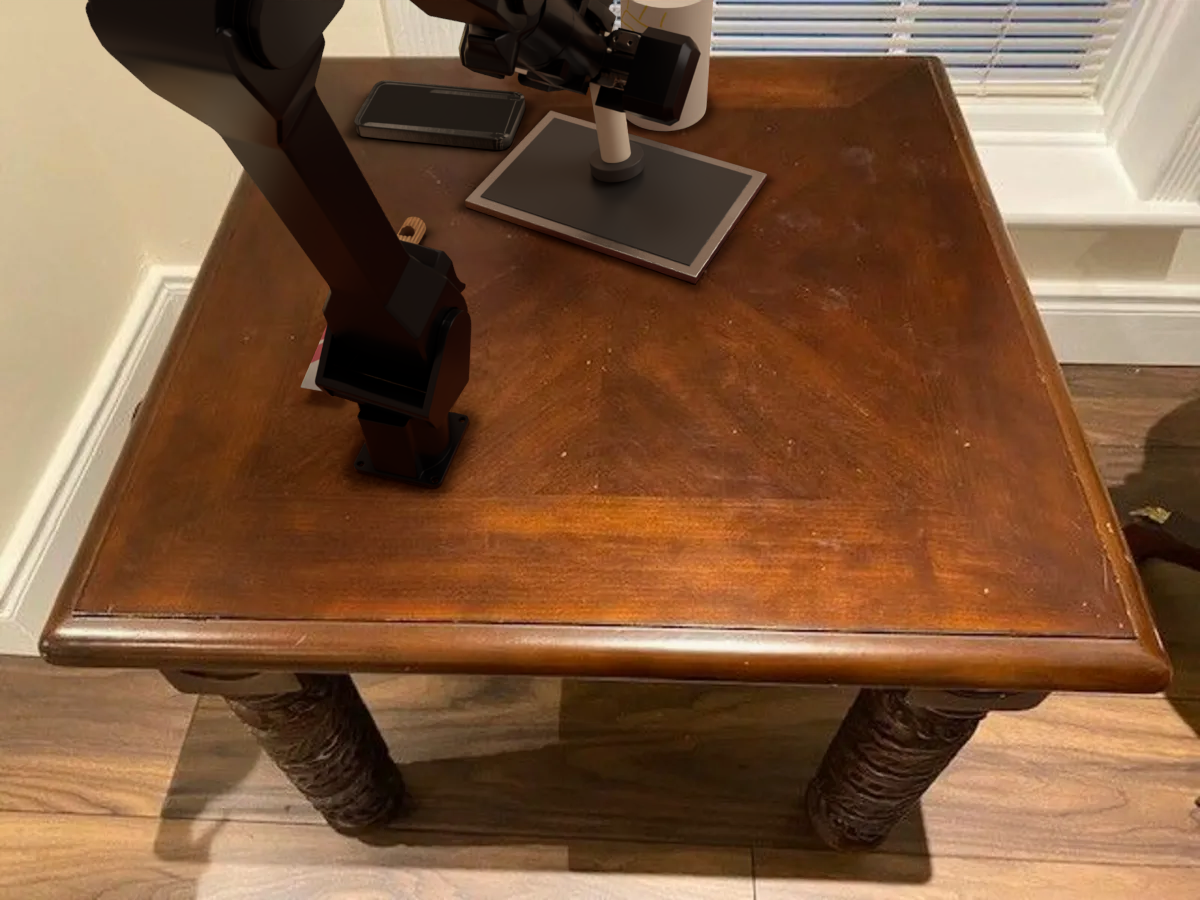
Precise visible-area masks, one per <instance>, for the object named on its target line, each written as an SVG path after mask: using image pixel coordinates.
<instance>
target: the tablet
mask: <svg viewBox="0 0 1200 900" xmlns="http://www.w3.org/2000/svg"><path fill="white" fill-rule="evenodd" d="M628 137H629V142H632V143H635V144H637V145H639V146H640V147H641V148H642V150H643V153H644V160H645V166H644V168H643V170H642V171H641V172H640V173H639V174H638V175H637V176H635V177H633V178H631V179H628V180H625V181H621V182H604V181H600V180H598V179H596V178H595V177H594V176H593V175H592V173H591V169H590V163H589V158H590V155H591V154H592V152H593V151H594V150H596V149H597V148H599V147H600V146H599V140H598V134H597V128H596V122H592V121H588V120H584V119H581V118H577V117H574V116H570V115H567V114H564V113H560V112H557V111H554V110H549V112H547V114H545V115H544V117H543V118H542V119H541V120H540V121H539V122H537V124H536V125H535V126H534V127H533V128H532V129H531V130H530V131H529V132H528V134H527V135H526V136H524V137H523V139H522V140H521V141H519V143H518V144H517V145H516V146H515V147H514V148H513V149H512V150H511V151H510V152H509V153H508V155H506V156H505V158H503V160H502V161H501V162H500V163H499V164H498V165H497V166H496V167H495V168H494V169H493V170H492V171H491V172H490V173H489V175H487V176H486V178H485V179H484V180H483V181H481V183H480V184H479V185H478V186H476V188H475V189H474V190H473V191H472V192H471V193H470V195H468V196H467V198H465V200H464V204H465V207H466V208H467V209H470V210H473V211H476V212H480V213H482V214H485V215H488V216H491V217H494V218H497V219H500V220H503V221H506V222H509V223H512V224H515V225H517V226H520V227H524V228H527V229H530V230H533V231H535V232H539V233H541V234H545V235H547V236H551V237H553V238H556V239H560V240H563V241H566V242H569V243H571V244H574V245H577V246H581V247H584V248H586V249H589V250H593V251H596V252H599V253H600V254H601V253H602V254H604V255H608V256H610V257H614V258H616V259H620V260H623V261H625V262H628V263H631V264H634V265H638V266H640V267H643V268H646V269H649V270H653V271H655V272H657V273H661V274H663V275H667V276H669V277H673V278H675V279H679V280H682V281H684V282H688V283H691V284H694V285H696V284H697V282H698V281H699V280H700V278H701V277H702V275H703V273H704V272H705V271H706V270H707V268H708V266H709V265H710V263H711V262H712V260H714V258H715V256H716V255H717V253H718V252H719V250H720V249H721V248H722V247H723V245H724V243H725V242H726V240H727V239H728V237H729V236H730V234H731V233H732V231H733V230H734V229H735V227H736V226H737V224H738V223H739V222H740V220H741V219H742V217H743V215H744V214H745V212H747V210H748V208H749V206H750V205H751V204H752V202H753V201H754V200H755V198H756V197H757V195H758V194H759V192H760V191H761V189H762V188H763V186H764V185H765V184H766V182H767V178H768V174H767V173H766V172H762V171H758V170H755V169H752V168H748V167H745V166H741V165H739V164H734V163H731V162H728V161H725V160H721V159H718V158H715V157H711V156H707V155H704V154H701V153H698V152H693V151H691V150H686V149H683V148H680V147H677V146H673V145H670V144H668V143H667V144H666V143H663V142H660V141H656V140H653V139H649V138H646V137H642V136H639V135H635V134H632V133H629V132H628Z"/></svg>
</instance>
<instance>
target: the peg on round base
mask: <svg viewBox="0 0 1200 900" xmlns="http://www.w3.org/2000/svg"><path fill="white" fill-rule="evenodd" d="M613 30H615V29H614V28H613V29H612V31H613ZM609 34H610V33H608V32H605V35H604V36H608V35H609ZM607 50H610V49H609V48H608V49H607ZM610 51H611V50H610ZM599 89H600V86H599V85H595V84H592V83H590V87H589V91H590V97H591V103H592V109H593V115H594V121H595V122H594V123H595V124H596V128H597V134H598V140H599V146H600V147H599V148H597V149H596V150H594V151H593V152H592V154H591V155H590V158H589V163H590V169H591V173H592V175H593V176H594V177H595V178H596V179H598V180H600V181H604V182H621V181H625V180H628V179H631V178H633V177H635V176H637V175H638V174H639V173H640V172H641V171H642V170H643V168H644V166H645V160H644V153H643V150H642V148H641V147H640V146H639V145H637V144H635V143H632V142H629V137H628V133H629V131H628V122H627V118H626V115H625V113H621V112H617V111H614V110H610V109H607V108H603V107H599V106H596V105H595V102H596V99H597V95H598V92H599Z"/></svg>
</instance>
